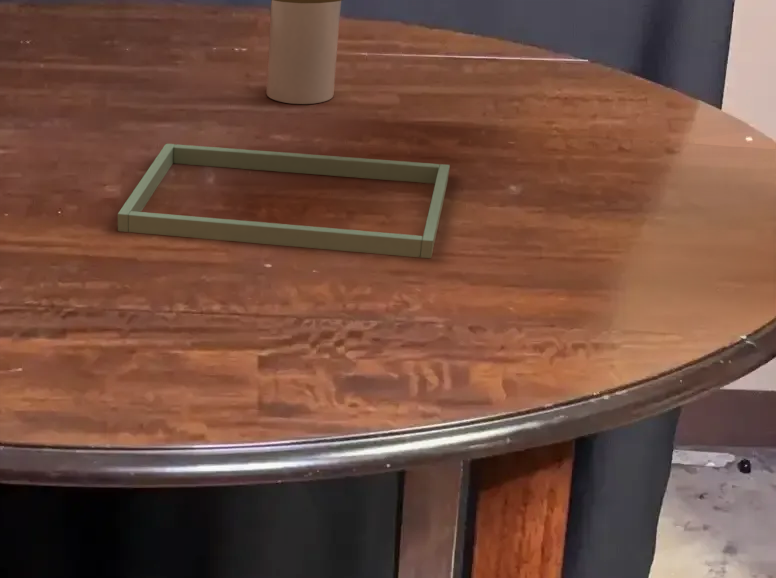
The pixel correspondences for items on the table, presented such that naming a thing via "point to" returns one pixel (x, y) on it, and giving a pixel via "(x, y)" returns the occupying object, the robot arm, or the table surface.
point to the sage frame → (285, 233)
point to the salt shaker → (302, 51)
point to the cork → (308, 1)
